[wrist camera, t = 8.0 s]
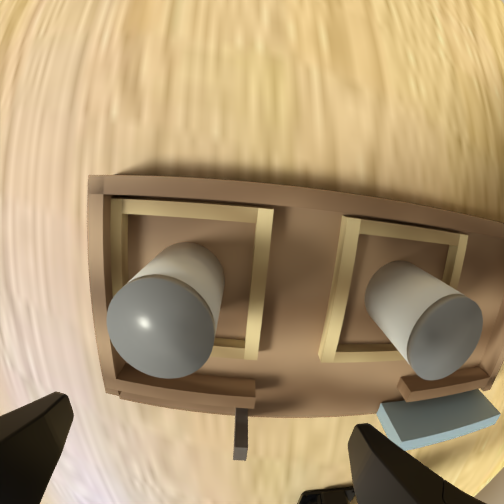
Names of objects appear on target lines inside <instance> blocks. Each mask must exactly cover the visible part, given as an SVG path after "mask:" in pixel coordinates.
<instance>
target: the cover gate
mask: <svg viewBox="0 0 504 504" xmlns="http://www.w3.org/2000/svg"><path fill="white" fill-rule="evenodd" d="M500 414H501V413H500V412H499V411H498V410H497V409H496V408H495V407H494V406H493V405H492V404H491V402H490V401H489V400H488V399H487V398H486V397H485V396H484V395H483V394H482V393H481V392H480V390H479V389H475V390H471V391H466V392H462V393H457V394H453V395H448V396H442V397H437V398H432V399H426V400H420V401H413V402H406V401H405V400H404V401H396V402H388V403H381V404H380V407H379V409H378V411H377V416H378V418H379V420H380V422H381V424H382V426H383V429H384V431H385V433H386V435H387V437H388V439H390V440H391V441H392V442H394V443H395V444H396V445H398V446H399V447H400V448H402V449H403V450H404V451H406V450H411V449H416V448H420V447H424V446H428V445H432V444H436V443H439V442H443V441H446V440H450V439H453V438H457V437H460V436H463V435H466V434H469V433H472V432H475V431H478V430H480V429H483V428H486V427H489V426H491V425H494V424H495V423H496V421H497V419H498V418H499V416H500Z"/></svg>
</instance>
